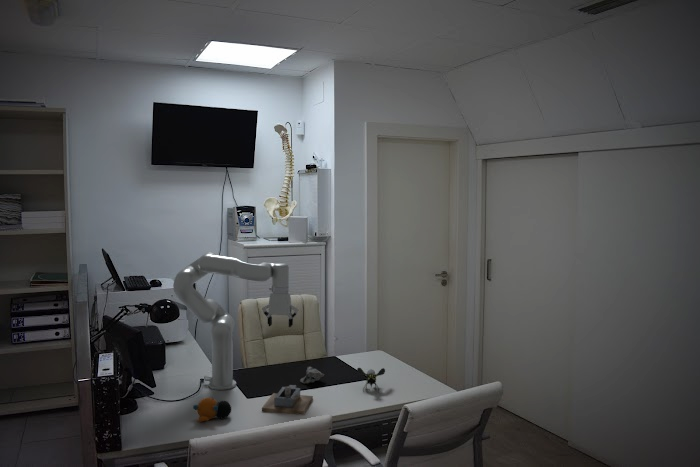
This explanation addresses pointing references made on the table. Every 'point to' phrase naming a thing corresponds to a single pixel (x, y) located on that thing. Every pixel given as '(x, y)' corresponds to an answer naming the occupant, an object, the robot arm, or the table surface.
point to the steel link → (287, 398)
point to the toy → (212, 409)
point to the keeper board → (298, 408)
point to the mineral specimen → (311, 375)
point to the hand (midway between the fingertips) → (280, 326)
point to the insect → (371, 376)
